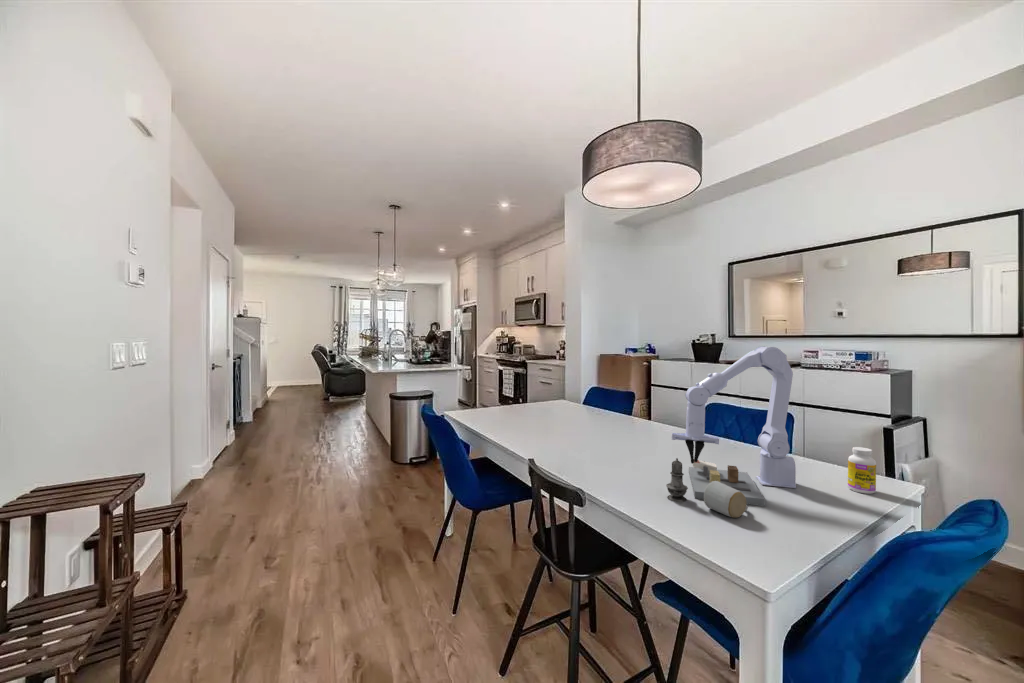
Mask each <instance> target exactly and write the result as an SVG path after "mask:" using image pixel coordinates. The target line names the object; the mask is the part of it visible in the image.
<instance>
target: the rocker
mask: <svg viewBox="0 0 1024 683" xmlns="http://www.w3.org/2000/svg"><path fill="white" fill-rule="evenodd" d="M704 461H705V460H699V459H698V461H697V462H695V461H694V463H691V465H692V467H694V468H699V469H703V466H705V467H708V470H709V471H710V470H713V471H717V470H718V466H717V464H716V463H713V462H710V461H709V462H708V461H705V462H704Z"/></svg>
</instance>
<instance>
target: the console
mask: <svg viewBox="0 0 1024 683" xmlns="http://www.w3.org/2000/svg"><path fill="white" fill-rule="evenodd" d="M703 461H704V462H706V461H705V460H703ZM717 471H718V472H719V474H720V482H721V483H723V484H725V485H727V486H729V487H731V488H734V489H736V490H738V491H740V492H741V493H743V494H744V496H745V498H746V505H752V506H761V507H766V498H765V497H764V496H763V494H762V493H761V491H760V489H759V487H758V486H757V485H756V483H755V482H754V480H753V478H751V475H750V474H749V473H748V471H747V472H746V471H738V483H734V482H729V480H728V469H727V470H725V469H724V470H723V469H717ZM688 475H689V476H688V477H689V479H690V483H691V484H690V485H691V487H692V492H693V495H694V496H693V497H694V499H699V500H704V492H705V489H706V487H707V486H708V484H709V483H710V471H709V470H708V467H705V466H703V469H699V468H695V467H693V466H692V467H691V466H688Z"/></svg>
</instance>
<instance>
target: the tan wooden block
mask: <svg viewBox="0 0 1024 683" xmlns="http://www.w3.org/2000/svg"><path fill="white" fill-rule="evenodd" d="M712 481H719V482H720V474H719V472H718V471H713V470H710V483H711V482H712Z"/></svg>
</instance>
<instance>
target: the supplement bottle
mask: <svg viewBox="0 0 1024 683" xmlns="http://www.w3.org/2000/svg"><path fill="white" fill-rule="evenodd" d="M872 456H873V449H871V448H867V447H862V446H854V447H852V454H851V455H849V456H848V459H847V488H848V489H849V490H851V491H853V492H856V493H859V494H860V493H861V494H866V495H867V494H868V495H872V494H876V492H877V491H876V489H877V488H876V487H877V461H876V460H875V459H874V458H873V457H872Z"/></svg>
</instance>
